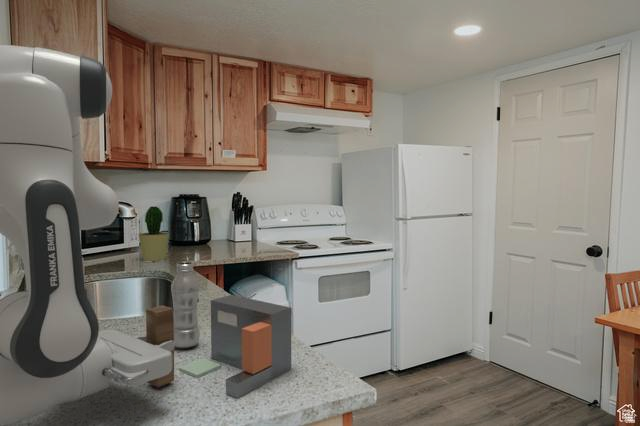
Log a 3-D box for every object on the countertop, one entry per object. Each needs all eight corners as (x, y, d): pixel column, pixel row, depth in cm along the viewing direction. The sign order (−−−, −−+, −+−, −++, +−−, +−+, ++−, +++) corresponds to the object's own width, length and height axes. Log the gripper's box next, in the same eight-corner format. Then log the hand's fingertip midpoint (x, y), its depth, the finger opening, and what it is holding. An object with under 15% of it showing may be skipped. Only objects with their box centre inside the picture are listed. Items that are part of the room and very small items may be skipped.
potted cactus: (137, 263, 212) (136, 205, 211) (140, 259, 227) (139, 204, 225) (169, 262, 217) (168, 205, 216) (170, 257, 232) (169, 204, 230)
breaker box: (176, 372, 84) (175, 309, 83) (231, 349, 96) (231, 294, 95) (237, 398, 73) (236, 326, 73) (291, 369, 85) (291, 307, 85)
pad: (178, 370, 85) (178, 367, 85) (202, 360, 90) (202, 358, 90) (197, 378, 81) (197, 375, 81) (220, 367, 86) (220, 364, 86)
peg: (147, 382, 78) (146, 309, 77) (163, 375, 81) (162, 305, 80) (157, 387, 76) (156, 312, 75) (174, 380, 79) (173, 308, 78)
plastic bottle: (189, 339, 103) (188, 260, 102) (205, 346, 98) (204, 263, 97) (165, 347, 98) (164, 263, 97) (181, 354, 93) (180, 266, 92)
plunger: (242, 370, 78) (241, 328, 78) (260, 361, 82) (260, 321, 82) (253, 374, 76) (253, 331, 76) (271, 365, 80) (271, 324, 80)
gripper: (122, 362, 61) (198, 336, 72) (61, 333, 73) (135, 315, 84) (123, 404, 62) (199, 371, 73) (62, 368, 74) (135, 345, 85)
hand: (164, 341), depth 79 cm, fingers closed on peg, 3 cm apart
